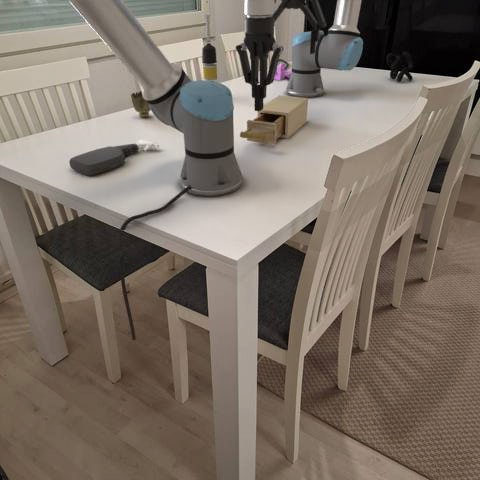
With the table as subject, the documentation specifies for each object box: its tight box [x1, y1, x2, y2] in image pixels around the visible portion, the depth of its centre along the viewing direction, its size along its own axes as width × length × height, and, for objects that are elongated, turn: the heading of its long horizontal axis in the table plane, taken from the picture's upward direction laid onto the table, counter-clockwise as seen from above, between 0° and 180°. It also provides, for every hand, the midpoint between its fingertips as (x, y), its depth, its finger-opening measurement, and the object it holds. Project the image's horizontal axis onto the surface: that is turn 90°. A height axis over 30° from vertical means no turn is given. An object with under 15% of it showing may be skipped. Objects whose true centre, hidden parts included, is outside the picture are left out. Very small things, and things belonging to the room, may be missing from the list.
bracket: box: [274, 62, 292, 81], centre depth 208 cm, size 13×6×7 cm, turn 143°
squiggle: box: [385, 51, 414, 83], centre depth 198 cm, size 11×10×15 cm
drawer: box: [239, 113, 286, 146], centre depth 135 cm, size 23×9×6 cm, turn 154°
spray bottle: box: [68, 139, 160, 177], centre depth 124 cm, size 3×11×24 cm
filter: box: [201, 14, 218, 82], centre depth 171 cm, size 6×6×30 cm
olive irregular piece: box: [130, 90, 151, 118], centre depth 157 cm, size 8×7×8 cm
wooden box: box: [257, 94, 309, 140], centre depth 144 cm, size 18×10×8 cm, turn 154°
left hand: (258, 109), depth 125 cm, fingers closed
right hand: (291, 52), depth 138 cm, fingers open, 13 cm apart
